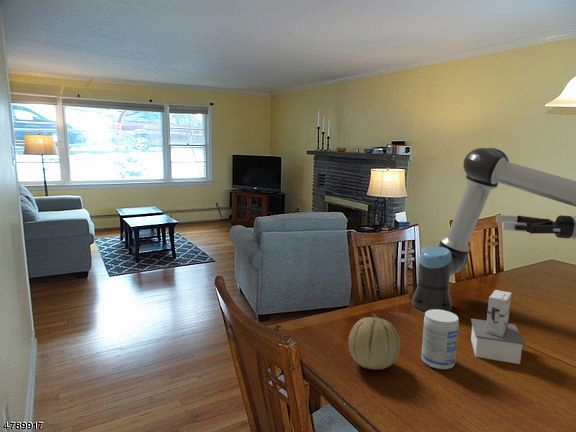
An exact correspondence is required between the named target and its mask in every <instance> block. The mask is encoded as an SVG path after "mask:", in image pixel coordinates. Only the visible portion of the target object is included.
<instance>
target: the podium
mask: <svg viewBox="0 0 576 432" xmlns="http://www.w3.org/2000/svg"><path fill="white" fill-rule="evenodd" d="M486 322H487V319H486V320H485V319H476V318H470V323H471V335H470V341H471V345H472V349H473V353H474V356H475V358H482V359H486V360H494V361H498V362H499V361H500V362H505V363H512V364H517V365H521V359H522V350H523V346H525V345H526V343H525V341H524V338H523V337H522V335H521V333H520V331H519V330H518V327H517V326H516V324H515V323H514V324H513V323H508V328H507V329H506V331H505V333H504V335H503V337H500V336H496V335H493V334H489V333H486V332H485V331H486Z"/></svg>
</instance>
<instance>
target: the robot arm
mask: <svg viewBox="0 0 576 432" xmlns="http://www.w3.org/2000/svg"><path fill="white" fill-rule="evenodd" d="M463 170H464V172H465V174H466V176H465V181H466V182H467V184H466V186H465V187H466V188H465V189H464V191H463V195H462V196H461V199H460V203H458V204H459V205H458V206H457V210H456V212H455V214H454V217H453V219H452V222H451V224H450V227H449V229H448V232H447V234H446V236H444V237H442V238H441V239H440V242H439V245H438V246H427V247H424V248H422V250H420V254H419V257H418V259H419V261H418V262H419V263H418V276H417V277H418V278H417V287H416V289H415V290H414V293H413V295H412V299H411V305H412V306H413V307H414V308H416V309H417V310H419V311H422V312H424V313H425V312H426V311H428V310H433V309H437V310H445V311H449V312H451V311H452V308H453V302H452V299H451V293H450V291H449V289H450V288H449V287H450V277H451V276H453V275H454V274H455V275H456V274H457V273H459V272H461V271H463V269H465V267H466V266H467V264H468V263H469V252H470V249H471V247H470V245H469V243H470V240H471V238H472V235H473V233H474V231H475V228H476V226H477V224H478V221H479V219H480V217H481V214H482V211H483V209H484V207H485V205H486V203H487V200H488V198H489V195H490V192H491V191H492V190H494V189H496V188H497V187H498V186H499V184H502V185H505V186H508V187H510V188H514V189H518V190H521V191H525V192H526V193H530V194H534V195H537V196H540V197H544V198H546V199H550V200H553V201H556V202H558V203H562V204H566V205H568V206H572V207H575V208H576V180H574V179H571V178H570V179H569V178H566V177H562V176H559V175H556V174H552V173H550V172H549V173H548V172H546V171H545V172H544V171H542V170H538V169H534V168H532V167H527V166H525V165H524V166H523V165H520V164H516V163H513V162H510V159H509V157H508V155H507V154H506V153H505V152H504V151H503V150H501V149H499V148H494V147H478V148H475V149H472V150H471V151H469V152H468V154H466V156H465V158H464V159H463ZM495 223H498V224H502V230H503V231H512V232H513V231H514V232H525V233H529V234H531V235H533V234H554V236H555V237H556V238H559V239H573V240H576V216H575V215H574V216H571V215H561V214H560V215H558V216H557V217H556V219H555V221H554V220H551V219H549V218H542V217H541V218H540V217H533V216H524V215H504V214H503V215H501V214H497V215H496V219H495Z"/></svg>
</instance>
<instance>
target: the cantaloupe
mask: <svg viewBox="0 0 576 432" xmlns="http://www.w3.org/2000/svg"><path fill="white" fill-rule="evenodd" d="M400 348H401V340H400V336H399V334H398V331H397V330H396V328H395V327H394V325H392V323H391V322H389V321H388V320H386V319H384V318H382V317H381V318H380V317H378V316H377V315H376V314H375V313H371V316H368V317H366V316H365V317H362V318H360V319H359V320H358V321H357V322H356V323H355V324H354V325H353V326H352V327H351V330H350V332H349V336H348V349H349V353H350V355H351V357H352V358H353V360H354V361H355V362H356V363H357V364H358V365H360V367H362V368H364V369H369V370H384V369H387V368H389V367H391V366H392V365H393V364H394V363H395V362H396V360H397V359H398V357H399V354H400V351H401V349H400Z"/></svg>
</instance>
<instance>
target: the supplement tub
mask: <svg viewBox="0 0 576 432" xmlns="http://www.w3.org/2000/svg"><path fill="white" fill-rule="evenodd" d="M459 325H460V323H459V316H458V315H457V314H456V313H453V312H451V311H445V310H437V309H433V310H428V311H426V312H425V311H424V318H423V326H422V327H423V328H422V329H423V330H422V342H421V343H422V344H421V353H420V355H421V360H422V361H423V363H425V365H427V366H428V367H431V368H434V369H436V370H449V369H452V368H453V367H454V366H455V365H456V361H457V360H456V357H457V348H458V347H457V346H458V336H459V335H458V334H459Z"/></svg>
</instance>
